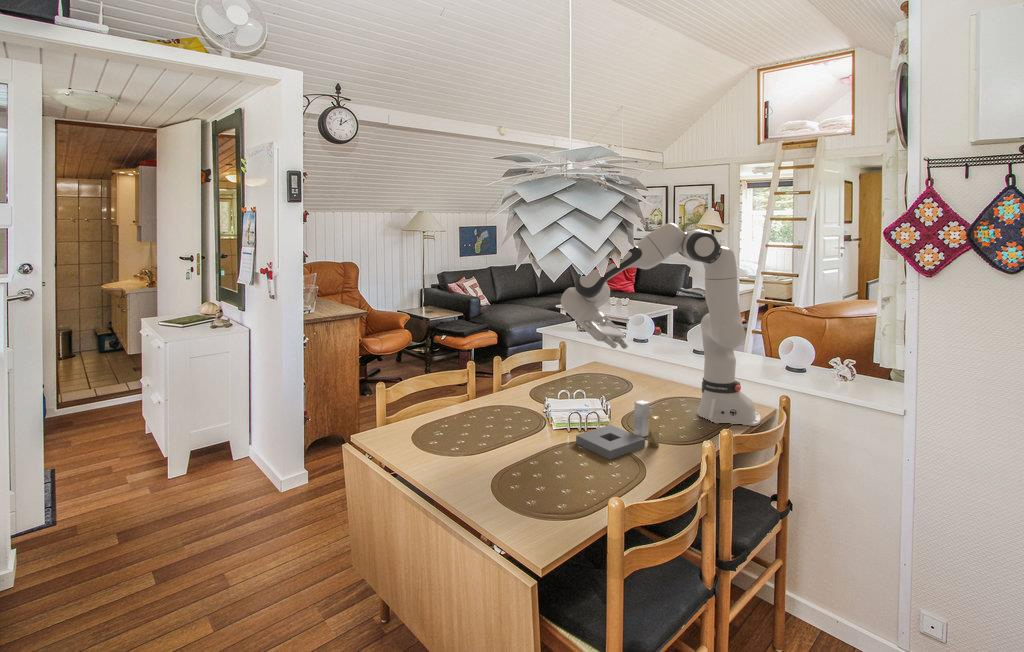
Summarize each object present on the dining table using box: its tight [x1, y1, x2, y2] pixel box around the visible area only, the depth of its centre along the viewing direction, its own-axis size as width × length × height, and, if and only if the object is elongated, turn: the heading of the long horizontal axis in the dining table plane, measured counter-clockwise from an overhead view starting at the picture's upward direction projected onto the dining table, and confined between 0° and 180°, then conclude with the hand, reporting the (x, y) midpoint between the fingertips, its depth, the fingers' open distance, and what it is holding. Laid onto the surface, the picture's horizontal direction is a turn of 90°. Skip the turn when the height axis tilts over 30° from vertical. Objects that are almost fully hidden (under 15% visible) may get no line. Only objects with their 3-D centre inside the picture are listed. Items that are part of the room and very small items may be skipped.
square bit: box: [633, 399, 651, 438], centre depth 197 cm, size 4×4×12 cm
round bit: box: [647, 415, 661, 449], centre depth 188 cm, size 4×4×10 cm
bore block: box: [575, 424, 646, 460], centre depth 189 cm, size 16×16×3 cm
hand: (621, 347), depth 200 cm, fingers open, 8 cm apart
